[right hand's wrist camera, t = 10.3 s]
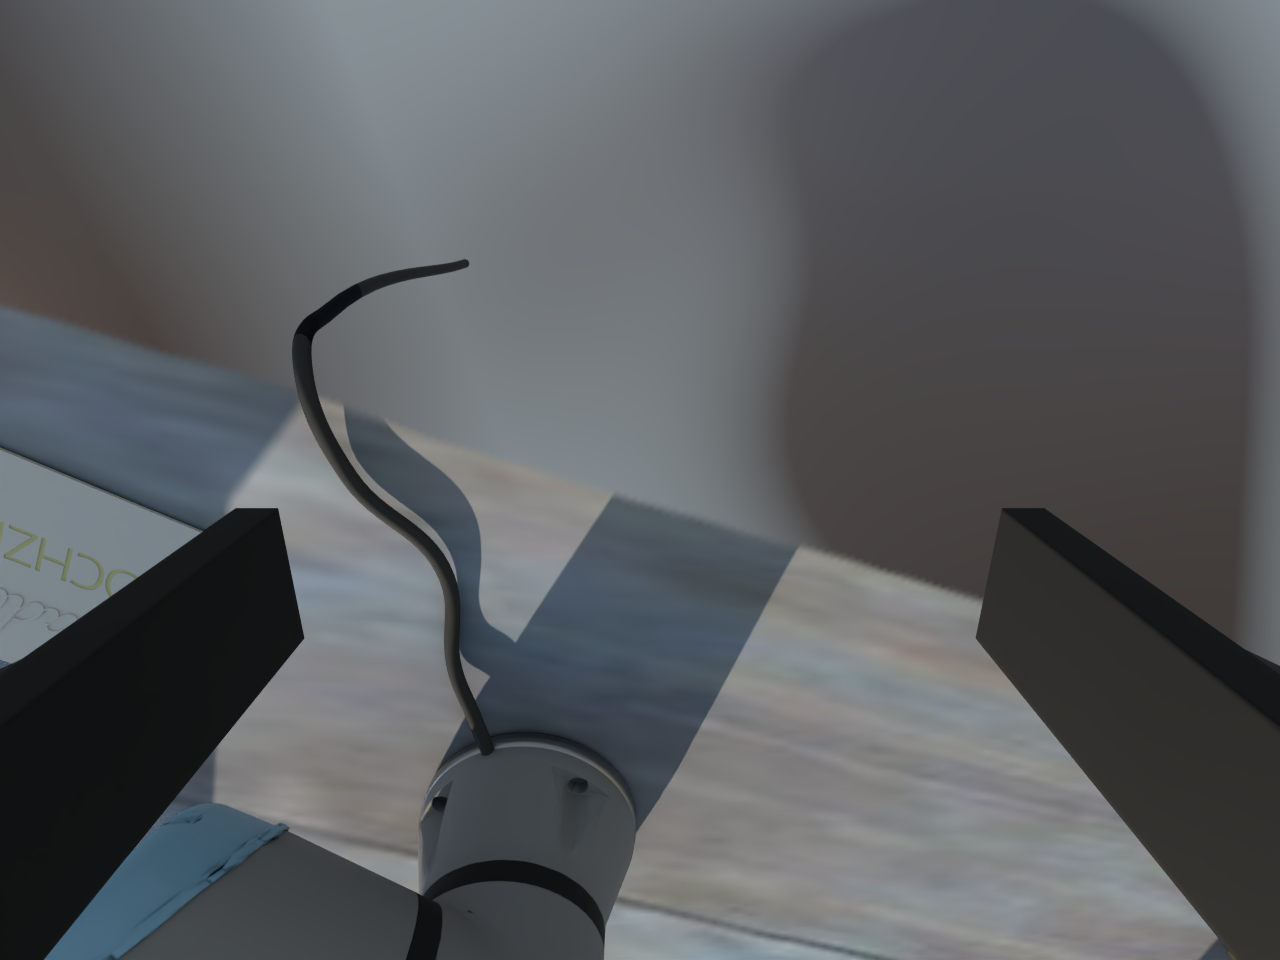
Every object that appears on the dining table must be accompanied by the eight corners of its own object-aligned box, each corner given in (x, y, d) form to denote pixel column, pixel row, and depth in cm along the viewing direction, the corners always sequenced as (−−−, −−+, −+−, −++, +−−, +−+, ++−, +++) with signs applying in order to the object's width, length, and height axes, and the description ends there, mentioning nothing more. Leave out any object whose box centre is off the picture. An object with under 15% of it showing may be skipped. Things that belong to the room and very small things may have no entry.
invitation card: (251, 554, 42) (191, 730, 47) (254, 552, 42) (194, 727, 47) (-120, 401, 38) (-144, 608, 43) (-115, 400, 39) (-139, 605, 43)
